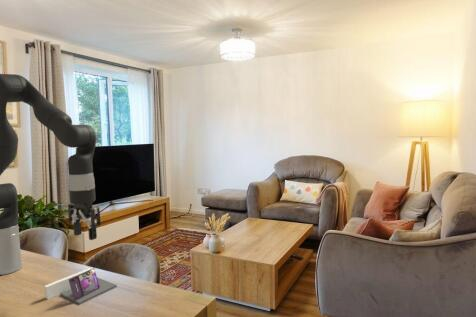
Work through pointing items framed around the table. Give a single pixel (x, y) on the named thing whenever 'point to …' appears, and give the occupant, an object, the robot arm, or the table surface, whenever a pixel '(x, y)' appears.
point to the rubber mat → (103, 288)
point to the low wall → (62, 285)
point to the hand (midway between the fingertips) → (85, 237)
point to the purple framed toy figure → (82, 284)
